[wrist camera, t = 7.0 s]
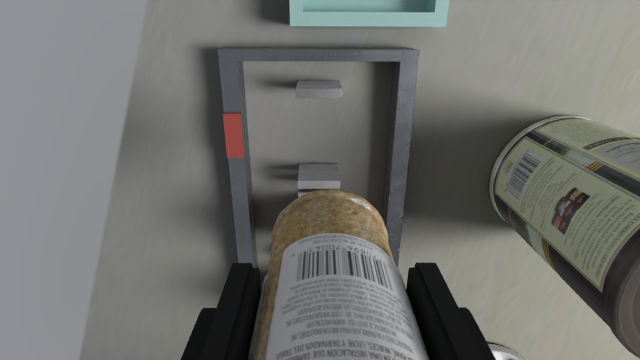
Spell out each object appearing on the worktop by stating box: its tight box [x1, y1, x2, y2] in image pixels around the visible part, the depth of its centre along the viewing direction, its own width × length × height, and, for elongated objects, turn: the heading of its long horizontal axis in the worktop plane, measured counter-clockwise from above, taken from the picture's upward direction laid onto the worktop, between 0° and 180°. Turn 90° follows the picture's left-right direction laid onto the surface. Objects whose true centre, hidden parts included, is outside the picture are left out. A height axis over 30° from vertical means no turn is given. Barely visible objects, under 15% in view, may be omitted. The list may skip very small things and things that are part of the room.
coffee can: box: [489, 115, 640, 358], centre depth 24 cm, size 10×10×14 cm
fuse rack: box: [218, 48, 420, 268], centre depth 30 cm, size 13×24×4 cm, turn 0°
